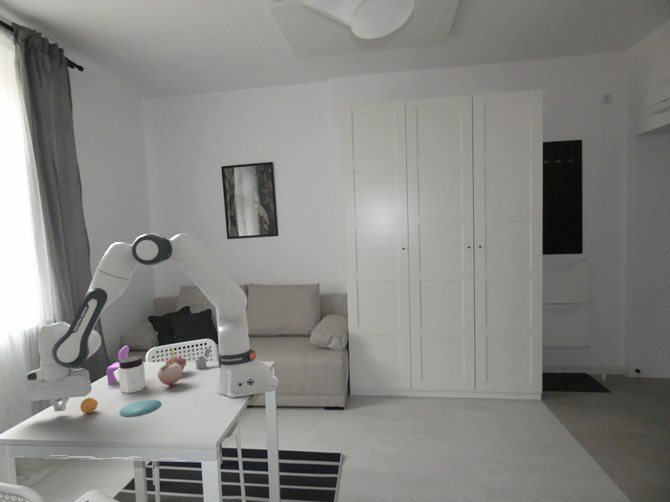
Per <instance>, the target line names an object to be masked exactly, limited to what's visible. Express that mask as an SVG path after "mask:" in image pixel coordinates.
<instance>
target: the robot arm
mask: <svg viewBox="0 0 670 502" xmlns="http://www.w3.org/2000/svg"><path fill="white" fill-rule="evenodd" d="M168 260H170V261H173V262H174V263H175V264H177V265H178V267H180V269H181V270H182V271H183V273H185V274H186V276H187V277H188V278H189V279H190V280H191V281H192V282H193V283H194V285H196V287H197V288H198V289H199V290H200V291H201V293H202V294H203V295H204V296H205V298H206V299H207V300H208V301H209V302H210V304H211V305H213V307H214V308H215V314H216V325H217V337H218V339H217V340H218V350H219V351H218V356H217V361H218V367H219V380H218V388H217V392H218V394H220V395H222V396H227V397H228V398H233V399H234V398H239V397H245V396H253V395H257V394H264V393H271V392H274V391H275V390H277V388H278V386H279V385H280V384H279V383H280V381H279V378H278V377H277V376H274V375H273V373H272V369H271V368H270V366H269V365H268V364H266V363H264V362H263V361H261V360H260V359H259V358H256V357H257V356H256V349H255V348H254V349H252V348H251V347H250V336H249V326H248V319H247V318H248V317H247V305H248V298H247V294H246V293H245V291H244V290H243V289H242V288H241V286H239V285H238V284H237V283H236V281H235V280H234V279H233V278H232V277H231V276H230V275H229V274H228V272H227V271H226V270H225V268H223V267H222V265H221V264H220V263H219V262H218V261H217V260H216V259H215V257H214V256H213V255H212V253H210V252H209V250H207V248H205V246H204V245H203V244H201V243H200V241H199V240H197V239H196V238H195V237H194V236H193V235H191V234H189V233H188V232H187V233H186V232H181V233H178V234H176V235H174V236H173V237H171V238H167V237H166V236H164V235H163V234H162V235H161V234H158V233H153V232H151V233H150V232H149V233H145V234H141V235H139V236H137V238H135V240H134V241H133V242H132V244H131V243H128V242H122V241H120V242H119V241H118V242H114V243H112V244H111V245H110V246H109V247H108V248H107V250H106V251H105V253H104V254H103V256H102V257H101V259H100V261H99V263H98V266H97V267H96V269H95V272H94V275H93V277H92V279H91V282H90V285H89V287H88V290H87V292H86V293H85V296H84V299H83V300H82V303H81V304H80V307H79V308H78V310H77V313H76V315H75V317H74V318H73V321H72V322H71V324H69V323H67V322H66V321H56V322H52V323H50V324H47V325H45V326H43V327H41V328H40V329H39V330H38V335H37V348H38V349H37V350H38V354H39V357H40V361H39V367H38V368H36V369H33V370H31V371H29V372H27V373H26V374H24V377H23V378H24V381H25V382H24V384H23V385H24V386H23V395H24V396H23V397H24V399H25V400H26V402H33V401H34V402H36V401H46V400H49V403H50V404H51V406H52V407H53V409H54V412H64V411H66V409H67V403H68V401H69V400H70V398H80V397H81V398H82V397H86V396H87V395H89V394H90V393H92V389H93V388H92V383H91V379H90V371H88V369H85V368H84V367H83V368H82V367H81V368H77V367H79V366H81V365H82V364H84V362H85V361H86V360H87V359H89V358H90V357H92V356H93V355H94V354H95V353H97V351H98V350H99V349H100V348H101V346H102V336H101V334H100V333H99V332H98V331H97V330H95V327H96V325H97V322H98V321H99V318H101V315H102V314H103V313H104V311H105V310H106V309H107V307H109V306H110V305H111V304H113V302H115V301H116V300H117V299H119V298H120V297H121V296H122V295H123V294H124V292H125V290H126V289H127V287H128V286H129V284H130V282H131V279H132V278H133V275H134V273H135V270H136V269H137V267H138V266H139V265H144V266H156V265H158V264H162V263H163V262H165V261H168ZM59 399H60V402H62V403H61V404H59V402H58V400H59Z"/></svg>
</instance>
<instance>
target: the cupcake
mask: <svg viewBox="0 0 670 502" xmlns="http://www.w3.org/2000/svg"><path fill="white" fill-rule="evenodd" d="M174 352H175V351H174V349H173V348H171V355H172V358H170V359H167V360H166V362H165V364H169V361H170V363H171V362H174V361H176V362H179V365H180V366H181V367H182V369H183V370H184V368H185V367H186V365H187V361H186V359H185V358H183V357H179V356H178V357H177V356H176V357H175V353H174ZM165 364H164V365H165ZM177 364H178V363H177Z"/></svg>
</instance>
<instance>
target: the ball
mask: <svg viewBox="0 0 670 502" xmlns="http://www.w3.org/2000/svg"><path fill="white" fill-rule="evenodd" d="M98 405H99V404H98V401H97V399H95V398H94V397H87V398H85V399H83V400H82V401H81V404H80V407H79V408H80V410H81V412H82V413H84V414H91V413H94V411H95V410H96V409H97V408H98Z"/></svg>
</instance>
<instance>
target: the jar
mask: <svg viewBox="0 0 670 502" xmlns="http://www.w3.org/2000/svg"><path fill="white" fill-rule="evenodd" d="M118 362H119V366H120V368H118V369H117V370H118V376H119V377H118V378H119V379H118V380H119V391H120V392H121V393H124V394H131V393H132V394H133V393H136V392H139V391H142V390H143V389H144V388H145V387H146V384H147V383H146V373H145V363H144V362H143V356H141V355H131V356H128V357H127V358H123V359H121V360H119V361H118Z"/></svg>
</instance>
